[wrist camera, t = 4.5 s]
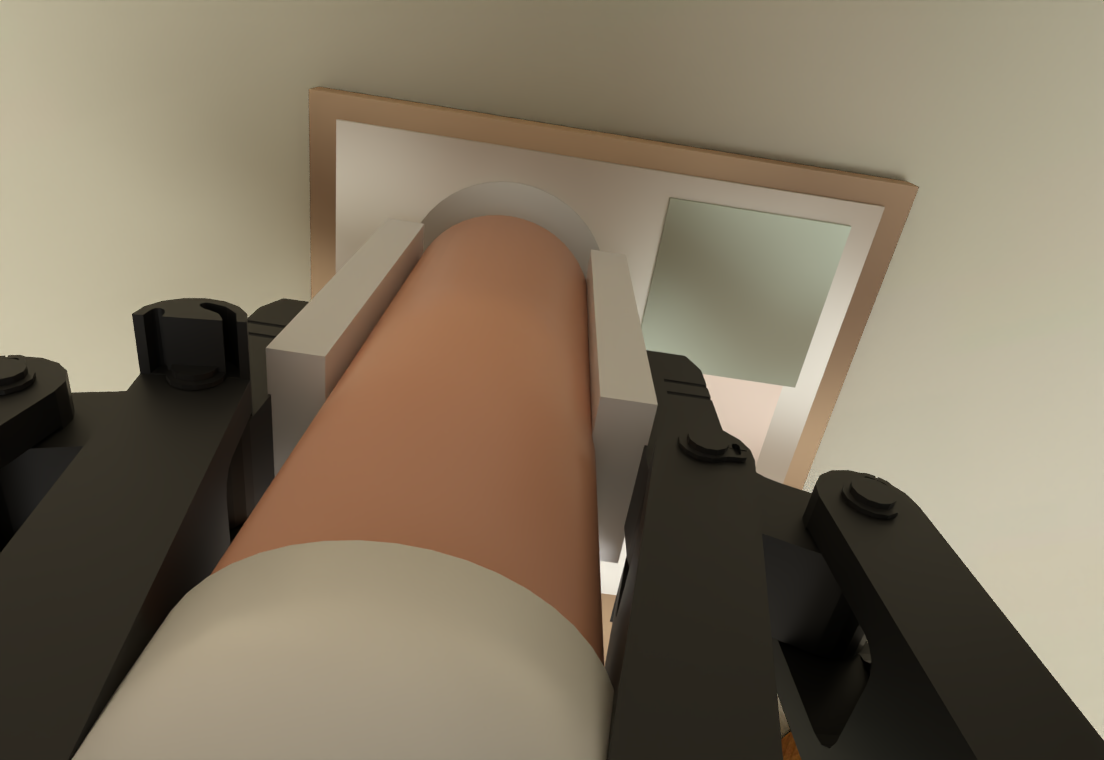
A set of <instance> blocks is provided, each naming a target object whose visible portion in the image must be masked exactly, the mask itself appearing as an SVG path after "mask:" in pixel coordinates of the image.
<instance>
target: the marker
mask: <svg viewBox="0 0 1104 760" xmlns="http://www.w3.org/2000/svg"><path fill="white" fill-rule="evenodd" d="M613 695H614V689H613V686H612V684H611V681H610V679H609V676H608V674H607V671H606V669H605V667H604V647H603V623H602V600H601V577H600V553H599V530H598V507H597V483H596V460H595V449H594V443H593V438H592V418H591V392H590V365H589V339H588V313H587V286H586V280H585V277H584V274H583V272H582V269H581V267H580V265H579V263H578V261H577V260H576V258H575V257H574V255H573V254H572V252H571V251H570V250H569V249H568V248H567V246H566V245H565V244H564V243H563V242H562V241H561V240H560V239H558V238H557V237H556V236H555V235H554V234H552V233H551V232H549V231H548V230H546V229H545V228H543V227H541V226H539V225H537V224H535V223H533V222H530V221H527V220H524V219H521V218H517V217H512V216H504V215H486V216H480V217H475V218H471V219H468V220H465V221H462V222H460V223H458V224H456V225H454V226H452V227H450V228H449V229H447V230H446V231H444V232H443V233H441V234H440V235H439V236H438V237H437V238H436V239H435V240H433V242H432V243H431V244H430V245H429V246H428V247H427V249H426V250H425V252H424V253H423V255H422V256H421V258H420V259H419V261H418V262H417V264H416V265H415V267H414V268H413V270H412V271H411V273H410V274H409V276H408V277H407V279H406V280H405V282H404V283H403V285H402V286H401V288H400V289H399V291H398V292H397V294H396V295H395V297H394V298H393V300H392V301H391V303H390V304H389V306H388V307H387V309H386V310H385V312H384V313H383V315H382V316H381V318H380V319H379V321H378V322H377V324H376V325H375V327H374V329H373V330H372V332H371V333H370V335H369V336H368V338H367V339H366V341H365V342H364V344H363V345H362V347H361V348H360V350H359V351H358V353H357V354H356V356H355V357H354V359H353V360H352V362H351V363H350V365H349V366H348V368H347V369H346V371H345V372H344V374H343V375H342V377H341V378H340V380H339V381H338V383H337V384H336V386H335V387H334V389H333V390H332V392H331V393H330V395H329V396H328V398H327V399H326V401H325V402H324V404H323V405H322V407H321V408H320V410H319V412H318V413H317V415H316V416H315V418H314V419H313V421H312V422H311V424H310V425H309V427H308V428H307V430H306V431H305V433H304V434H303V436H302V437H301V439H300V440H299V442H298V443H297V445H296V446H295V448H294V449H293V451H292V452H291V454H290V455H289V457H288V458H287V460H286V461H285V463H284V464H283V466H282V467H281V469H280V470H279V472H278V473H277V475H276V476H275V478H274V479H273V481H272V482H271V484H270V485H269V487H268V488H267V490H266V491H265V493H264V494H263V496H262V498H261V499H260V501H259V502H258V504H257V505H256V507H255V508H254V510H253V511H252V513H251V514H250V516H249V517H248V519H247V520H246V522H245V523H244V525H243V526H242V528H241V529H240V531H239V532H238V534H237V535H236V537H235V538H234V540H233V541H232V543H231V544H230V546H229V547H228V549H227V550H226V552H225V553H224V555H223V556H222V558H221V559H220V561H219V562H218V564H217V565H216V567H215V568H214V570H213V571H212V573H211V574H210V576H208V577H207V578H205V579H204V580H203V581H202V582H200V583H199V584H198V585H196V586H195V587H194V588H193V589H191V590H190V591H189V592H187V593H186V594H185V596H184V597H183V598H182V599H181V600H180V601H179V602H178V603H177V604H176V606H175V607H174V608H173V609H172V610H171V611H170V613H169V614H168V615H167V617H166V618H165V620H164V621H163V623H162V624H161V626H160V627H159V628H158V630H157V631H156V633H155V634H154V636H153V637H152V639H151V640H150V642H149V643H148V644H147V646H146V647H145V649H144V650H143V652H142V653H141V655H140V656H139V657H138V659H137V660H136V662H135V663H134V665H133V666H132V668H131V669H130V671H129V672H128V673H127V675H126V676H125V678H124V679H123V681H122V682H121V684H120V685H119V686H118V688H117V689H116V691H115V692H114V694H113V695H112V697H111V698H110V700H109V701H108V703H107V704H106V706H105V708H104V709H103V711H102V712H101V714H100V715H99V717H98V719H97V720H96V722H95V723H94V725H93V726H92V728H91V730H90V731H89V733H88V734H87V736H86V737H85V739H84V741H83V742H82V744H81V745H80V747H79V748H78V750H77V752H76V753H75V755H74V756H73V758H72V759H71V760H606V759H607V751H608V742H609V733H610V724H611V714H612V705H613Z"/></svg>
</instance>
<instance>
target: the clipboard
mask: <svg viewBox="0 0 1104 760" xmlns="http://www.w3.org/2000/svg"><path fill="white" fill-rule="evenodd" d="M309 149H310V229H311V300H312V299H313V297H314V296H315V295H316V294H317V293H318V292H319V291H320V290H321V289H322V288H323V287H324V286H325V285H326V284H327V283H328V282H329V281H330V280H331V279H332V277H333V276H334V275H335V274H336V273H337V272H338V271H339V270H340V269H341V268H342V267H343V266H344V265H345V264H346V263H347V262H348V261H349V260H350V259H351V257H352V256H353V255H354V254H355V253H356V252H357V251H358V250H359V249H360V248H361V247H362V246H363V245H364V244H365V243H366V242H367V241H368V240H369V239H370V238H371V236H372V235H373V234H374V233H375V232H376V231H377V230H378V229H379V228H380V227H381V226H382V225H383V224H384V223H385V222H386V221H387V220H388V219H389V218H390V219H396V220H403V221H409V222H416V223H422V224H424V239H423V253H424V252H425V250H426V249H427V247H428V246H429V245H430V244H431V243H432V242H433V240H435V239H436V238H437V237H438V236H439V235H440V234H441V233H443V232H444V231H446V230H447V229H449V228H450V227H452V226H454V225H456V224H458V223H460V222H462V221H465V220H468V219H471V218H475V217H480V216H486V215H504V216H512V217H517V218H521V219H524V220H527V221H530V222H533V223H535V224H537V225H539V226H541V227H543V228H545V229H546V230H548V231H549V232H551V233H552V234H554V235H555V236H556V237H557V238H558V239H560V240H561V241H562V242H563V243H564V244H565V245H566V246H567V248H568V249H569V250H570V251H571V252H572V254H573V255H574V257H575V258H576V260H577V261H578V263H579V265H580V267H581V269H582V272H583V274H584V277H585V280H586V274H587V269H588V263H589V258H590V252H591V250H598V251H604V252H611V253H617V254H624V255H626V258H627V263H628V267H629V272H630V277H631V281H632V286H633V291H634V295H635V300H636V305H637V310H638V314H639V319H640V324H641V328H642V333H643V338H644V342H645V347H646V350H649V351H656V352H663V353H670V354H676V355H683V356H686V357H687V358H688V359H689V360H690V361H692V362H693V363H694V364H695V365H696V366H697V367H698V368H699V369H700V370H701V371H702V374H703V377H704V379H705V382H706V388H708V391H709V393H710V396H711V399H710V400H712V402H713V405H714V407H715V410H716V413H717V416H718V419H719V421H720V424H721V427H722V430H723V431H725V432H727V433H729V434H730V435H732V436H734V437H736V438H738V439H739V440H741V441H742V442H743V443H744V444H745V445H746V446H747V447H748V448H749V449H750V450H751V452H752V455H753V457H754V459H755V466H756V472H757V473H758V474H760V475H762V476H764V477H766V478H769V479H771V480H774V481H776V482H779V483H782V484H785V485H788V486H791V487H794V488H797V489H800V490H802V489H803V486H804V483H805V481H806V478H807V476H808V473H809V470H810V468H811V465H812V463H813V460H814V458H815V455H816V452H817V450H818V447H819V445H820V442H821V439H822V437H823V434H824V432H825V429H826V426H827V424H828V421H829V419H830V416H831V414H832V411H833V408H834V406H835V403H836V401H837V398H838V395H839V393H840V390H841V388H842V385H843V382H844V380H845V377H846V375H847V372H848V370H849V367H850V364H851V362H852V359H853V357H854V354H855V351H856V349H857V346H858V344H859V341H860V338H861V336H862V333H863V331H864V328H865V326H866V323H867V320H868V318H869V315H870V313H871V310H872V307H873V305H874V302H875V300H876V297H877V294H878V292H879V289H880V287H881V284H882V282H883V279H884V276H885V274H886V271H887V269H888V266H889V263H890V261H891V258H892V256H893V253H894V250H895V248H896V245H897V243H898V240H899V238H900V235H901V232H902V230H903V227H904V225H905V222H906V219H907V217H908V214H909V212H910V209H911V207H912V204H913V201H914V199H915V196H916V194H917V191H918V188H919V187H918V186H916V185H913V184H911V183H909V182H907V181H901V180H895V179H889V178H883V177H876V176H870V175H864V174H858V173H852V172H845V171H839V170H833V169H827V168H821V167H814V166H808V165H802V164H796V163H789V162H783V161H777V160H771V159H765V158H758V157H752V156H746V155H740V154H734V153H727V152H721V151H715V150H709V149H702V148H696V147H690V146H684V145H678V144H671V143H665V142H659V141H653V140H647V139H640V138H634V137H628V136H622V135H616V134H609V133H603V132H597V131H591V130H584V129H578V128H572V127H566V126H560V125H553V124H547V123H541V122H535V121H529V120H522V119H516V118H510V117H504V116H497V115H491V114H485V113H479V112H473V111H466V110H460V109H454V108H448V107H442V106H435V105H429V104H423V103H417V102H411V101H404V100H398V99H392V98H386V97H379V96H373V95H367V94H361V93H355V92H348V91H342V90H336V89H330V88H324V87H315V88H311V89H309ZM422 255H423V254H422ZM626 556H627V554H626V543H625V537H624V541H623V545H622V549H621V553H620V557H619V561H618V563H613V562H605V561H600V577H601V600H602V623H603V647H604V667H605V661H606V656H607V650H608V645H609V639H610V633H611V628H612V622H610V618H611V614H612V610H613V606H614V603H615V599H616V595H617V591H618V587H619V583H620V579H621V575H622V571H623V568H624V564H625V560H626Z"/></svg>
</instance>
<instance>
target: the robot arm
mask: <svg viewBox="0 0 1104 760" xmlns="http://www.w3.org/2000/svg"><path fill="white" fill-rule="evenodd" d="M423 239H424V224H422V223H416V222H409V221H403V220H396V219H390V218H389V219H388V220H387V221H386V222H385V223H384V224H383V225H382V226H381V227H380V228H379V229H378V230H377V231H376V232H375V233H374V234H373V235H372V236H371V238H370V239H369V240H368V241H367V242H366V243H365V244H364V245H363V246H362V247H361V248H360V249H359V250H358V251H357V252H356V253H355V254H354V255H353V256H352V257H351V259H350V260H349V261H348V262H347V263H346V264H345V265H344V266H343V267H342V268H341V269H340V270H339V271H338V272H337V273H336V274H335V275H334V276H333V277H332V279H331V280H330V281H329V282H328V283H327V284H326V285H325V286H324V287H323V288H322V289H321V290H320V291H319V292H318V293H317V294H316V295H315V296H314V297H313V299H312V300H311V301H310V302H305V301H298V300H291V299H284V298H283V299H281V300H278V301H275V302H273V303H270V304H267V305H265V306H262V307H260V308H259V309H257V310H256V311H255V312H254V313H253V314H252V315H251V316H250V317H249V318H247V313H245V312H244V311H243V310H242V309H241V308H240V307H238V306H236V305H233V304H230V303H228V302H225V301H219V300H212V299H206V298H182V299H174V300H166V301H161V302H157V303H154V304H151V305H147V306H144V307H143V308H141V309H139V310H138V311H136V312H135V313H133V314H132V317H133V324H134V331H135V338H136V345H137V353H138V360H139V367H140V375H139V376H138V377H137V379H136V380H135V381H134V382H133V384H132V385H131V386H130V387H129V389H128V390H127V391H119V392H80V393H71V389H70V384H69V379H68V374H67V370H66V369H64V368H63V367H62V366H61V365H60V364H59V363H57V362H53V361H50V360H47V359H44V358H36V357H24V356H22V355H8V357H5V356H0V760H71V759H72V758H73V756H74V755H75V753H76V752H77V750H78V748H79V747H80V745H81V744H82V742H83V741H84V739H85V737H86V736H87V734H88V733H89V731H90V730H91V728H92V726H93V725H94V723H95V722H96V720H97V719H98V717H99V715H100V714H101V712H102V711H103V709H104V708H105V706H106V704H107V703H108V701H109V700H110V698H111V697H112V695H113V694H114V692H115V691H116V689H117V688H118V686H119V685H120V684H121V682H122V681H123V679H124V678H125V676H126V675H127V673H128V672H129V671H130V669H131V668H132V666H133V665H134V663H135V662H136V660H137V659H138V657H139V656H140V655H141V653H142V652H143V650H144V649H145V647H146V646H147V644H148V643H149V642H150V640H151V639H152V637H153V636H154V634H155V633H156V631H157V630H158V628H159V627H160V626H161V624H162V623H163V621H164V620H165V618H166V617H167V615H168V614H169V613H170V611H171V610H172V609H173V608H174V607H175V606H176V604H177V603H178V602H179V601H180V600H181V599H182V598H183V597H184V596H185V594H186V593H187V592H189V591H190V590H191V589H193V588H194V587H195V586H196V585H198V584H199V583H200V582H202V581H203V580H204V579H205V578H207V577H208V576H210V574H211V573H212V571H213V570H214V568H215V567H216V565H217V564H218V562H219V561H220V559H221V558H222V556H223V555H224V553H225V552H226V550H227V549H228V547H229V546H230V544H231V543H232V541H233V540H234V538H235V537H236V535H237V534H238V532H239V531H240V529H241V528H242V526H243V525H244V523H245V522H246V520H247V519H248V517H249V516H250V514H251V513H252V511H253V510H254V508H255V507H256V505H257V504H258V502H259V501H260V499H261V498H262V496H263V494H264V493H265V491H266V490H267V488H268V487H269V485H270V484H271V482H272V481H273V479H274V478H275V476H276V475H277V473H278V472H279V470H280V469H281V467H282V466H283V464H284V463H285V461H286V460H287V458H288V457H289V455H290V454H291V452H292V451H293V449H294V448H295V446H296V445H297V443H298V442H299V440H300V439H301V437H302V436H303V434H304V433H305V431H306V430H307V428H308V427H309V425H310V424H311V422H312V421H313V419H314V418H315V416H316V415H317V413H318V412H319V410H320V408H321V407H322V405H323V404H324V402H325V401H326V399H327V398H328V396H329V395H330V393H331V392H332V390H333V389H334V387H335V386H336V384H337V383H338V381H339V380H340V378H341V377H342V375H343V374H344V372H345V371H346V369H347V368H348V366H349V365H350V363H351V362H352V360H353V359H354V357H355V356H356V354H357V353H358V351H359V350H360V348H361V347H362V345H363V344H364V342H365V341H366V339H367V338H368V336H369V335H370V333H371V332H372V330H373V329H374V327H375V325H376V324H377V322H378V321H379V319H380V318H381V316H382V315H383V313H384V312H385V310H386V309H387V307H388V306H389V304H390V303H391V301H392V300H393V298H394V297H395V295H396V294H397V292H398V291H399V289H400V288H401V286H402V285H403V283H404V282H405V280H406V279H407V277H408V276H409V274H410V273H411V271H412V270H413V268H414V267H415V265H416V264H417V262H418V261H419V259H420V258H421V256H422V254H423ZM586 286H587V313H588V339H589V365H590V392H591V418H592V438H593V443H594V449H595V460H596V483H597V507H598V530H599V553H600V561H605V562H613V563H618V561H619V557H620V553H621V549H622V545H623V541H624V537H625V543H626V554H627V556H626V560H625V564H624V568H623V571H622V575H621V579H620V583H619V587H618V591H617V595H616V599H615V603H614V606H613V610H612V614H611V618H610V622H612V628H611V633H610V639H609V645H608V650H607V656H606V661H605V669H606V671H607V674H608V676H609V679H610V681H611V684H612V686H613V689H614V695H613V705H612V714H611V724H610V733H609V742H608V751H607V759H606V760H783V753H782V742H781V732H780V721H779V710H778V700H777V694H778V697H779V700H780V702H781V705H782V708H783V711H784V713H785V716H786V719H787V722H788V724H789V727H790V730H791V733H792V735H793V738H794V741H795V744H796V746H797V749H798V752H799V755H800V757H801V760H1104V740H1103V739H1102V738H1101V737H1100V735H1099V734H1098V733H1097V731H1096V730H1095V729H1094V728H1093V726H1092V725H1091V724H1090V723H1089V721H1088V720H1087V719H1086V718H1085V716H1084V715H1083V714H1082V712H1081V711H1080V710H1079V709H1078V707H1077V706H1076V705H1075V704H1074V702H1073V701H1072V700H1071V698H1070V697H1069V696H1068V695H1067V693H1066V692H1065V691H1064V690H1063V688H1062V687H1061V686H1060V685H1059V683H1058V682H1057V681H1056V679H1055V678H1054V677H1053V676H1052V674H1051V673H1050V672H1049V671H1048V669H1047V668H1046V667H1045V666H1044V664H1043V663H1042V662H1041V660H1040V659H1039V658H1038V657H1037V655H1036V654H1035V653H1034V652H1033V650H1032V649H1031V648H1030V647H1029V645H1028V644H1027V643H1026V641H1025V640H1024V639H1023V638H1022V636H1021V635H1020V634H1019V633H1018V631H1017V630H1016V629H1015V628H1014V626H1013V625H1012V624H1011V622H1010V621H1009V620H1008V619H1007V617H1006V616H1005V615H1004V614H1003V612H1002V611H1001V610H1000V609H999V607H998V606H997V605H996V603H995V602H994V601H993V600H992V598H991V597H990V596H989V595H988V593H987V592H986V591H985V590H984V588H983V587H982V586H981V584H980V583H979V582H978V581H977V579H976V578H975V577H974V576H973V574H972V573H971V572H970V571H969V569H968V568H967V567H966V565H965V564H964V563H963V562H962V560H961V559H960V558H959V557H958V555H957V554H956V553H955V552H954V550H953V549H952V548H951V546H950V545H949V544H948V543H947V541H946V540H945V539H944V538H943V536H942V535H941V534H940V533H939V531H938V530H937V529H936V527H935V526H934V525H933V524H932V522H931V521H930V520H929V519H928V517H927V516H926V515H925V514H924V512H923V511H922V510H921V508H920V507H919V506H918V505H917V504H916V503H915V502H914V501H913V500H912V499H911V498H910V497H909V496H907V495H906V494H905V493H904V492H902V491H900V490H899V489H897V488H896V487H894V486H892V485H891V484H890V483H889V482H887V481H885V480H883V479H881V478H879V477H878V479H877V478H875V476H873V475H870V474H867V473H858V472H854V471H849V470H832V471H829V472H827V473H824V474H822V475H820V476H819V478H818V480H817V482H816V484H815V487H814V489H813V492H812V493H809V492H806V491H803V490H800V489H797V488H794V487H791V486H788V485H785V484H782V483H779V482H776V481H774V480H771V479H769V478H766V477H764V476H762V475H760V474H758V473H757V472H756V466H755V459H754V457H753V455H752V452H751V450H750V449H749V448H748V447H747V446H746V445H745V444H744V443H743V442H742V441H741V440H739V439H738V438H736V437H734V436H732V435H730V434H729V433H727V432H725V431H723V430H722V427H721V424H720V421H719V419H718V416H717V413H716V410H715V407H714V405H713V402H712V400H710V399H711V396H710V393H709V391H708V388H706V382H705V379H704V377H703V374H702V371H701V370H700V369H699V368H698V367H697V366H696V365H695V364H694V363H693V362H692V361H690V360H689V359H688V358H687V357H686V356H683V355H676V354H670V353H663V352H656V351H649V350H646V347H645V342H644V338H643V333H642V328H641V324H640V319H639V314H638V310H637V305H636V300H635V295H634V291H633V286H632V281H631V277H630V272H629V267H628V263H627V258H626V255H624V254H617V253H611V252H604V251H598V250H591V252H590V258H589V263H588V269H587V274H586ZM867 641H868V642H867Z"/></svg>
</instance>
